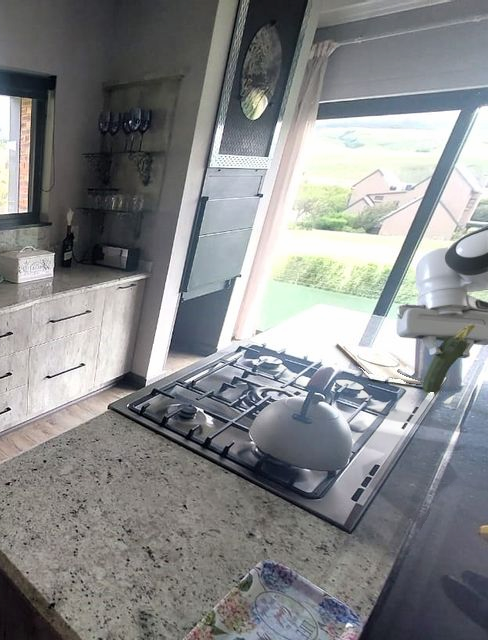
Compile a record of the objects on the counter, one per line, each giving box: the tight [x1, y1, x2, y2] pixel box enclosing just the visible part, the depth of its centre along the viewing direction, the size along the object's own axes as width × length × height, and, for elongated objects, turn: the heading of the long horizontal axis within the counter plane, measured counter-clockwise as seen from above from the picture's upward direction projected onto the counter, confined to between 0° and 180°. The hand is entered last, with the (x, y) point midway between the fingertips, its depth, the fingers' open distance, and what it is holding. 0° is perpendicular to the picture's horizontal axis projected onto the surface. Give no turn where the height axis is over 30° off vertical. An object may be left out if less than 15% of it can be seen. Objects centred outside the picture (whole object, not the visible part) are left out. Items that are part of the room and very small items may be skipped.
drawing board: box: [335, 343, 422, 385], centre depth 125 cm, size 14×26×1 cm, turn 160°
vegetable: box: [422, 323, 475, 396], centre depth 103 cm, size 4×4×20 cm
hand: (449, 356), depth 102 cm, fingers closed on vegetable, 4 cm apart
